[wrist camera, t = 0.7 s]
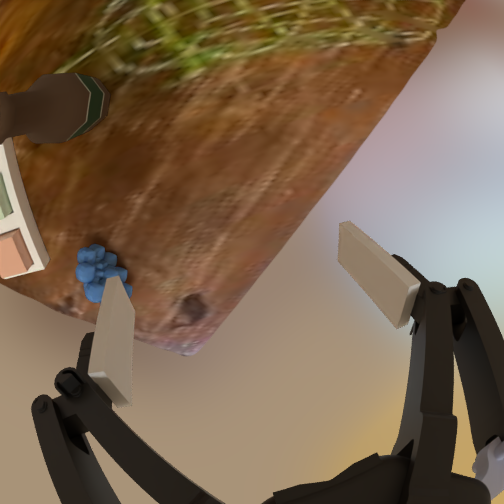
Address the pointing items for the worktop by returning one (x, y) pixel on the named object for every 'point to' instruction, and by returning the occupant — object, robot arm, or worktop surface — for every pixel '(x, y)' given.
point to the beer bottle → (54, 108)
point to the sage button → (4, 200)
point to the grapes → (98, 271)
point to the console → (20, 209)
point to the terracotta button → (14, 254)
